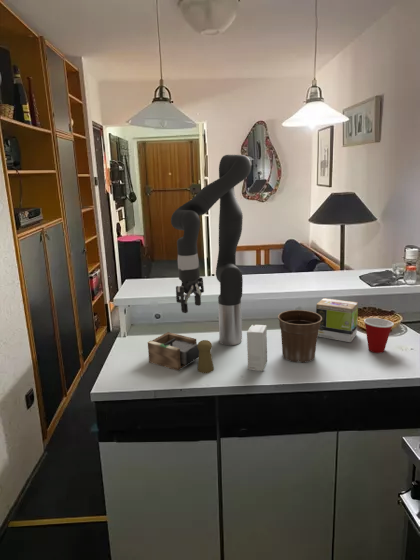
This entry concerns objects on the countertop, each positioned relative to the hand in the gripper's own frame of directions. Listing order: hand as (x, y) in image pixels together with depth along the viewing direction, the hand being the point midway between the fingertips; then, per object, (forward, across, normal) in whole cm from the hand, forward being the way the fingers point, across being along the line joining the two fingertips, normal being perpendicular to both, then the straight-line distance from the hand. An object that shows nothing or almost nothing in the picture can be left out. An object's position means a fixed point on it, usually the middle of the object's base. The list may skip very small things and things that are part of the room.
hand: (191, 308), depth 157 cm
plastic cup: (+23, -42, +58) cm, 75 cm away
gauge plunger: (+19, +5, -3) cm, 20 cm away
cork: (+21, +4, +7) cm, 23 cm away
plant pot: (+22, -22, +33) cm, 46 cm away
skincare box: (+22, -8, +22) cm, 32 cm away
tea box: (+23, -48, +40) cm, 66 cm away
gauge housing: (+21, +4, -8) cm, 23 cm away
